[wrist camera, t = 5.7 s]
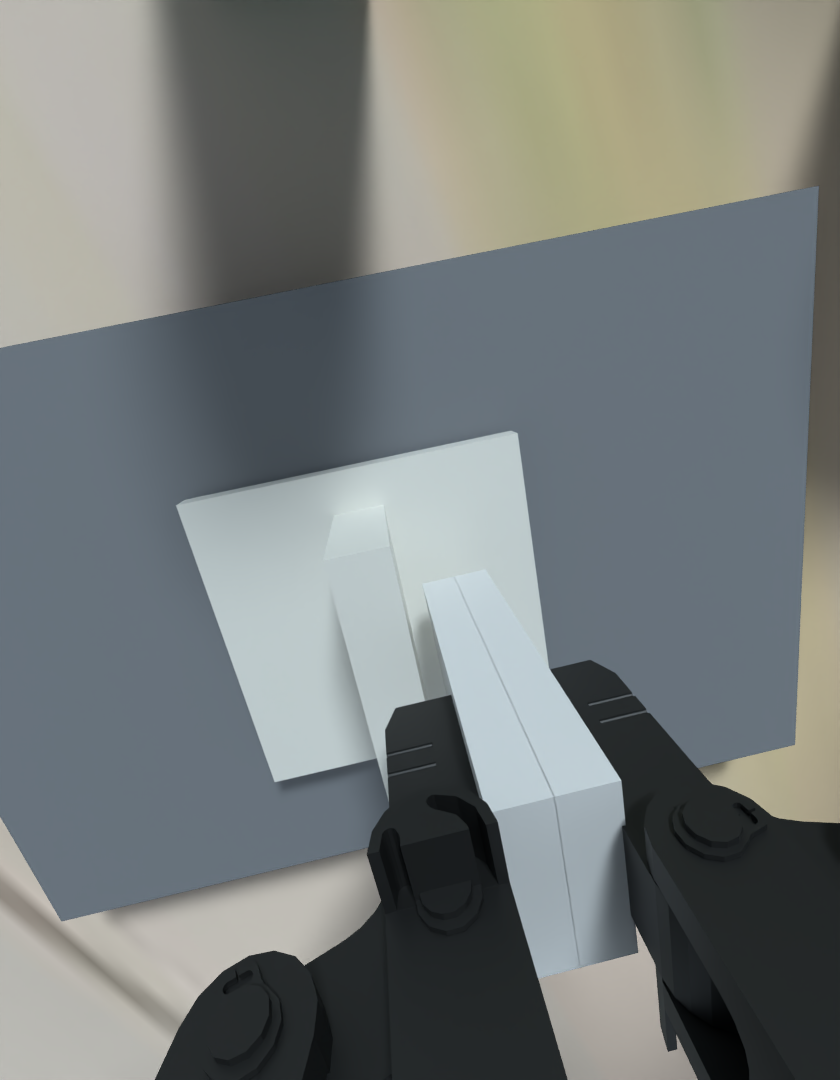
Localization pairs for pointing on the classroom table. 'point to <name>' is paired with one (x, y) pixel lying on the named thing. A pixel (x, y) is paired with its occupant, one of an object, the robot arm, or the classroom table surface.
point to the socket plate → (381, 431)
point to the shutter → (356, 588)
